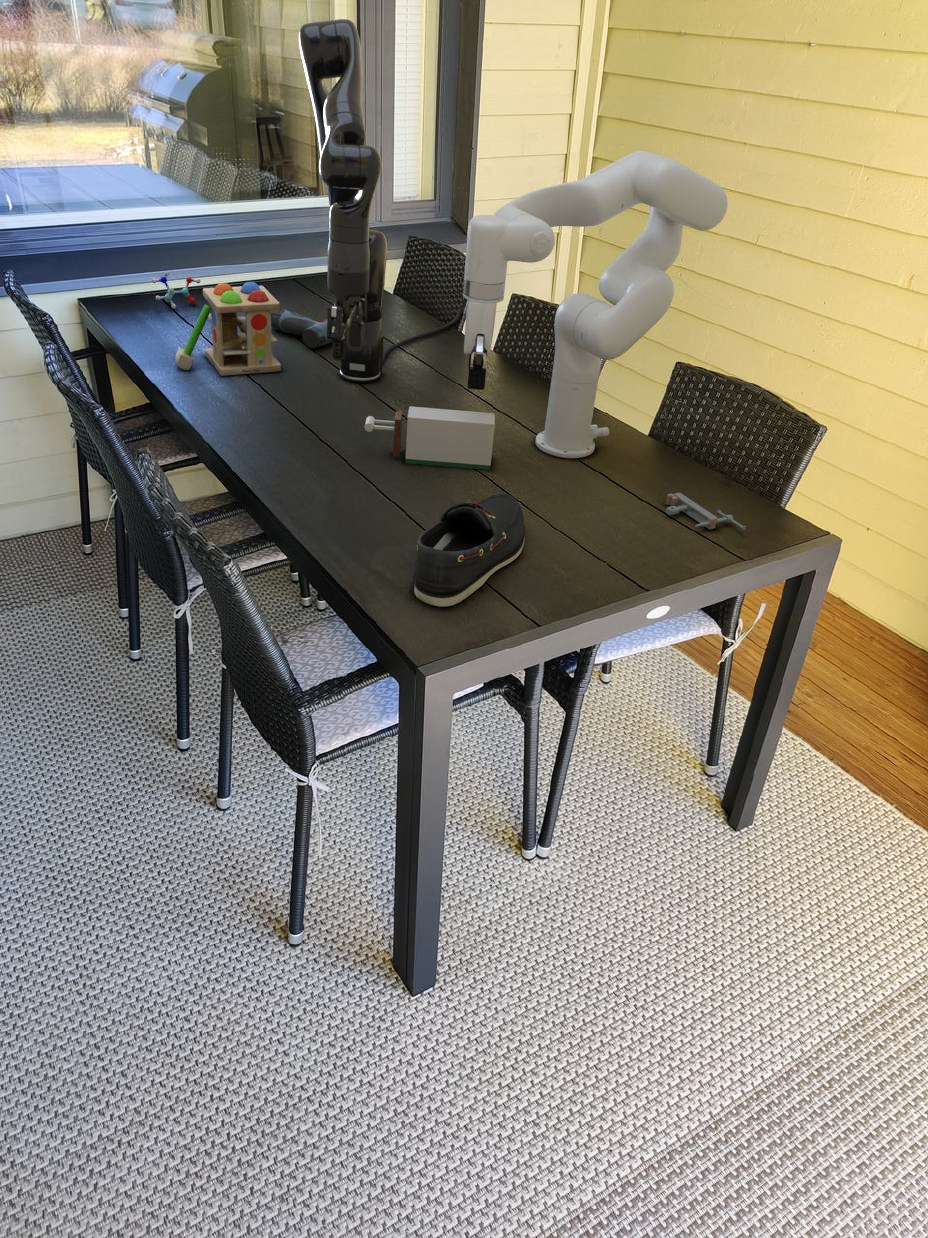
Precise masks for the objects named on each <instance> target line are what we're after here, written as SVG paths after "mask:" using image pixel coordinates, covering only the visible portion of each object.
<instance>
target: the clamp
mask: <svg viewBox="0 0 928 1238" xmlns="http://www.w3.org/2000/svg"><path fill="white" fill-rule="evenodd" d="M665 505H666V506H667V507H666V509H665V513H666V514H667V515H669V516H673V515H677V514H679V513H680V512H683V513H684V514H685V515H687V516H689V517H690V518H692V519H693V520H695V521H696V522H697V524H695V525H694V527H695V528H703V527H704V528H706V529H708V530H713V529H716V528H717V527H716V525H717V524H719V523H732V524H734V525H736V526H737V527H739V528H740V529H741V531H742V532H743V531H746V529H747V526H746V525H742V524H741V523H739V522H738V521H736V520H735V519H734V516H733V515H732V514H725V513H723V512H722V510H721V509H718V510H717V511H716V515H720V516H721V517H720V518H719V517H717V516H716V515H714V514H712V512H710V511H709V510H707V509H705V508H704V507H702V506H701V505H699V504H698V503H697V502H695V501H693V500H692V499H690V498H689V497H688V496H685V495H684V494H683V493H681V492H675V493H667V496H666V500H665Z"/></svg>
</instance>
